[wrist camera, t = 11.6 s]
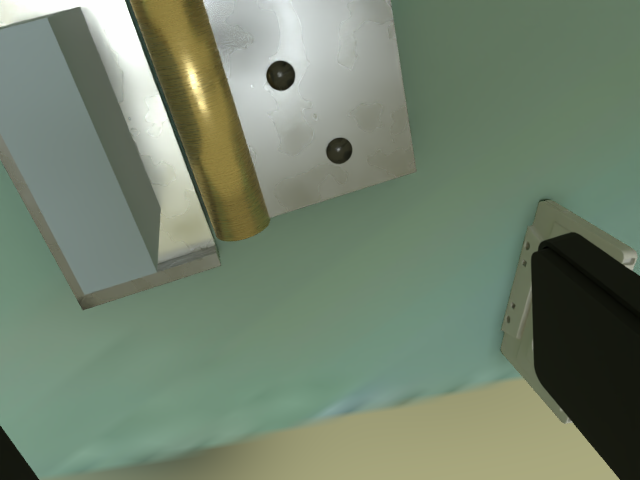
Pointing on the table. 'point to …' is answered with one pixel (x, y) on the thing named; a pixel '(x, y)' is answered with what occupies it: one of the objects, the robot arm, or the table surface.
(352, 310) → the table surface
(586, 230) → the cassette
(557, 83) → the table surface
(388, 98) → the hinge base
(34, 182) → the grey block
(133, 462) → the table surface
